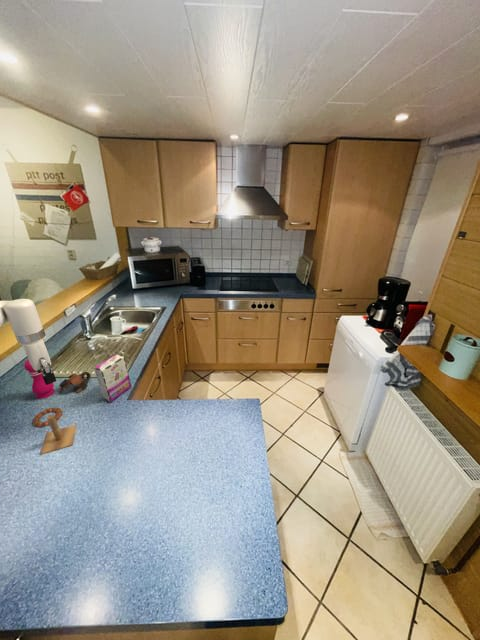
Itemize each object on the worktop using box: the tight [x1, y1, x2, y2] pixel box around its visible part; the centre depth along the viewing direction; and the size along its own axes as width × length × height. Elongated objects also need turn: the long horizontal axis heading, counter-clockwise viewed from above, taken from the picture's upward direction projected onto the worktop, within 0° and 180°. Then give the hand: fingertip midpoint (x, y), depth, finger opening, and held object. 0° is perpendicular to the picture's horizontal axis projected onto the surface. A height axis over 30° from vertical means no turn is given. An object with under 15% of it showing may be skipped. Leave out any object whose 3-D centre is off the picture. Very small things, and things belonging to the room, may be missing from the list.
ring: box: [32, 407, 64, 429], centre depth 95 cm, size 9×9×2 cm
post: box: [39, 414, 77, 456], centre depth 84 cm, size 9×9×12 cm
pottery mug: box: [58, 371, 92, 394], centre depth 111 cm, size 12×10×8 cm
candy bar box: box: [93, 354, 132, 403], centre depth 106 cm, size 11×5×16 cm, turn 154°
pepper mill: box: [23, 359, 55, 400], centre depth 103 cm, size 7×7×20 cm
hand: (47, 376), depth 91 cm, fingers open, 9 cm apart
